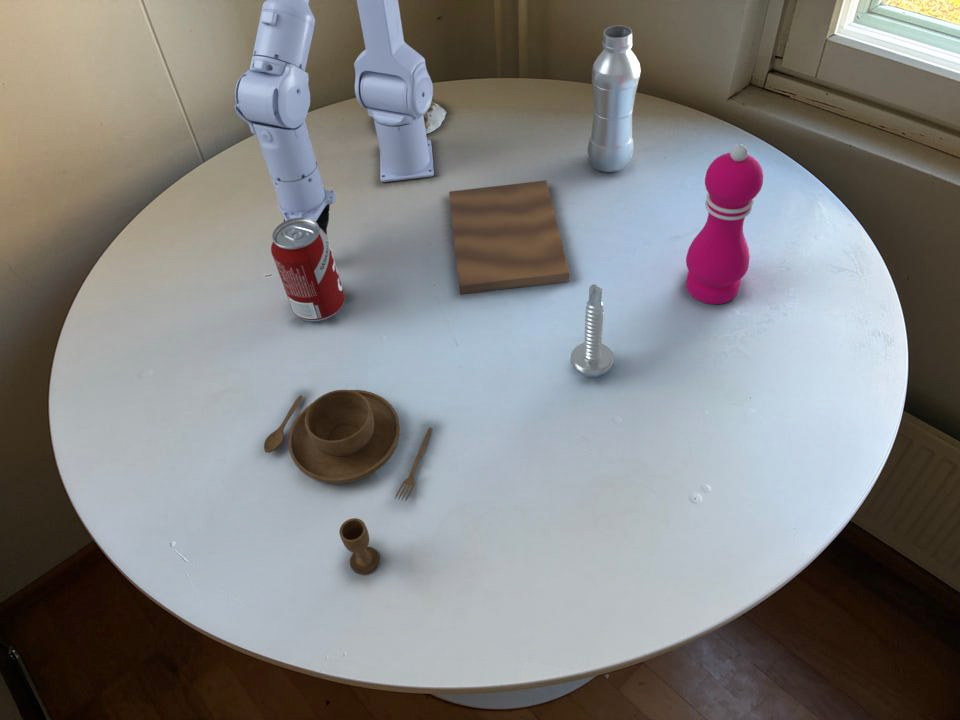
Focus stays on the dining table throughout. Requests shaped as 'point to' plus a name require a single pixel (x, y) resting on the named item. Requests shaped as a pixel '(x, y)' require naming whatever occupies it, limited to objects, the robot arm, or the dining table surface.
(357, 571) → the place setting
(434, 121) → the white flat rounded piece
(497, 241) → the cutting board
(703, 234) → the pepper mill
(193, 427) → the dining table surface
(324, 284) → the soda can
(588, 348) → the screw
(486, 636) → the dining table surface
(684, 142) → the dining table surface
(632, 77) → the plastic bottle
